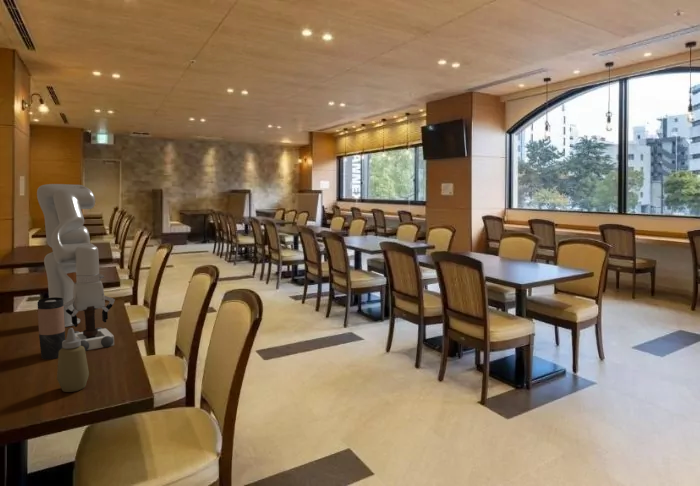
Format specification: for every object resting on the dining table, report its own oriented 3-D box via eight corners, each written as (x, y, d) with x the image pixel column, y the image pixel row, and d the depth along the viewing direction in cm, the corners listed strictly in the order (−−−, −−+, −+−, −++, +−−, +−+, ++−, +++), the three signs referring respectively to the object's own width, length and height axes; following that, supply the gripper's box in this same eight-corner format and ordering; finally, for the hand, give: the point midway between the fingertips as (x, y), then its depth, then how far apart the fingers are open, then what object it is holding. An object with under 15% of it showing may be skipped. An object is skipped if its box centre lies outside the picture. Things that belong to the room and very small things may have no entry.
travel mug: (71, 353, 165) (68, 298, 163) (51, 361, 158) (48, 303, 156) (55, 351, 168) (52, 296, 166) (35, 358, 160) (31, 301, 158)
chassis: (67, 342, 177) (67, 332, 177) (105, 336, 185) (105, 326, 185) (75, 353, 166) (74, 342, 165) (115, 345, 174) (114, 335, 174)
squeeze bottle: (66, 383, 140) (63, 324, 138) (94, 382, 141) (91, 324, 139) (51, 394, 132) (48, 332, 130) (81, 394, 133) (78, 332, 131)
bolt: (90, 347, 172) (89, 307, 171) (79, 346, 174) (77, 306, 172) (102, 342, 178) (100, 303, 176) (91, 341, 179) (89, 302, 178)
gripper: (111, 275, 181) (112, 318, 183) (59, 279, 170) (61, 325, 172) (116, 277, 176) (117, 322, 178) (62, 283, 165) (65, 330, 166)
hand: (90, 323), depth 175 cm, fingers open, 9 cm apart
